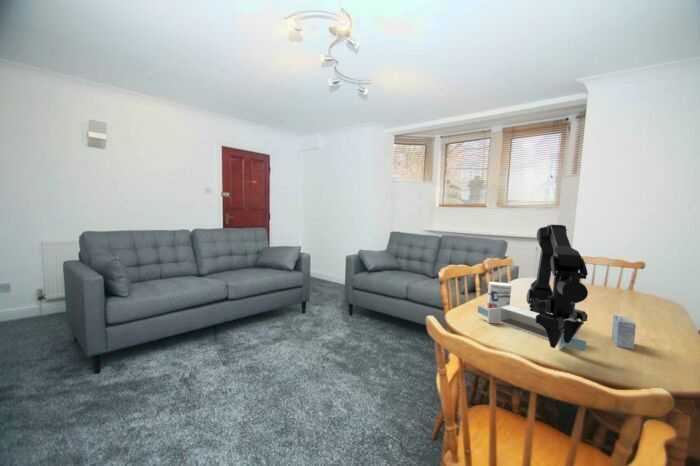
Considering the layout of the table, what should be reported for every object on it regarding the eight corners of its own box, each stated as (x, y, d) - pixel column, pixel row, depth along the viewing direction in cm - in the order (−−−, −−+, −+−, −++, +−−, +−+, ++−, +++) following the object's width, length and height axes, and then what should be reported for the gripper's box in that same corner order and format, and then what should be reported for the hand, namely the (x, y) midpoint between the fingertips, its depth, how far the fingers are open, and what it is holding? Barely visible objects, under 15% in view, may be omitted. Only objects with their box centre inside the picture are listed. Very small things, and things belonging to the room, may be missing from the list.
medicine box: (634, 350, 97) (636, 324, 97) (615, 346, 100) (618, 321, 99) (627, 341, 104) (630, 317, 103) (611, 338, 106) (613, 314, 106)
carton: (508, 318, 123) (510, 304, 122) (576, 342, 102) (578, 324, 102) (498, 321, 119) (499, 306, 119) (566, 346, 99) (568, 328, 98)
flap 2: (558, 349, 96) (559, 332, 95) (563, 345, 99) (564, 328, 98) (583, 357, 91) (585, 339, 90) (588, 352, 94) (589, 335, 93)
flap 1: (499, 322, 118) (500, 308, 118) (488, 323, 117) (489, 308, 116) (487, 316, 124) (487, 302, 124) (476, 317, 123) (477, 303, 123)
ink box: (488, 309, 134) (490, 283, 133) (487, 306, 139) (488, 281, 138) (509, 312, 132) (511, 285, 131) (507, 308, 136) (509, 283, 136)
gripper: (551, 286, 102) (547, 331, 103) (519, 290, 92) (515, 340, 93) (590, 294, 92) (585, 343, 93) (559, 300, 83) (555, 355, 84)
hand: (559, 345), depth 91 cm, fingers open, 8 cm apart
